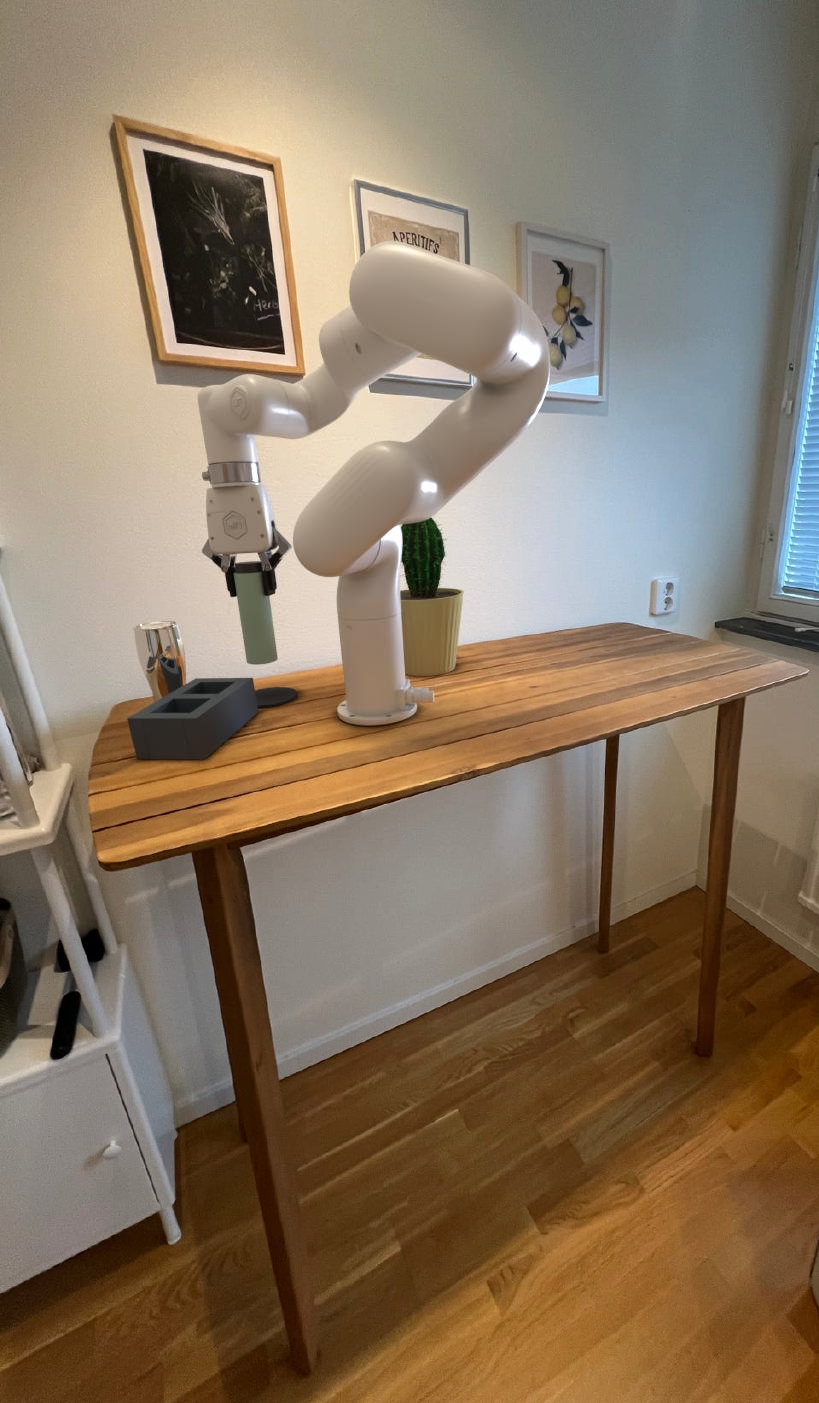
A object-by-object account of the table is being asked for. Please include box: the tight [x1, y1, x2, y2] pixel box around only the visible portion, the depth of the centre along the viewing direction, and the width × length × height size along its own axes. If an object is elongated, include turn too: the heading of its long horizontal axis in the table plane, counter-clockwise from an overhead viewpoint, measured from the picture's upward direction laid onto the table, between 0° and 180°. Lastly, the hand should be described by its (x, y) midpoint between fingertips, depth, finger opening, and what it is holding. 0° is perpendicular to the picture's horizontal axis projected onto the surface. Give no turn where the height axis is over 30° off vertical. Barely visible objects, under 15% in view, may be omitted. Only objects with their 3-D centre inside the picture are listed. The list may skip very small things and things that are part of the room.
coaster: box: [255, 686, 299, 709], centre depth 97 cm, size 10×10×1 cm
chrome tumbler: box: [133, 620, 187, 703], centre depth 90 cm, size 7×7×15 cm
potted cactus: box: [400, 517, 464, 677], centre depth 105 cm, size 15×15×30 cm
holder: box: [126, 677, 259, 761], centre depth 82 cm, size 10×18×6 cm, turn 172°
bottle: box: [234, 560, 279, 665], centre depth 92 cm, size 5×5×16 cm
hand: (253, 594), depth 91 cm, fingers closed on bottle, 5 cm apart
